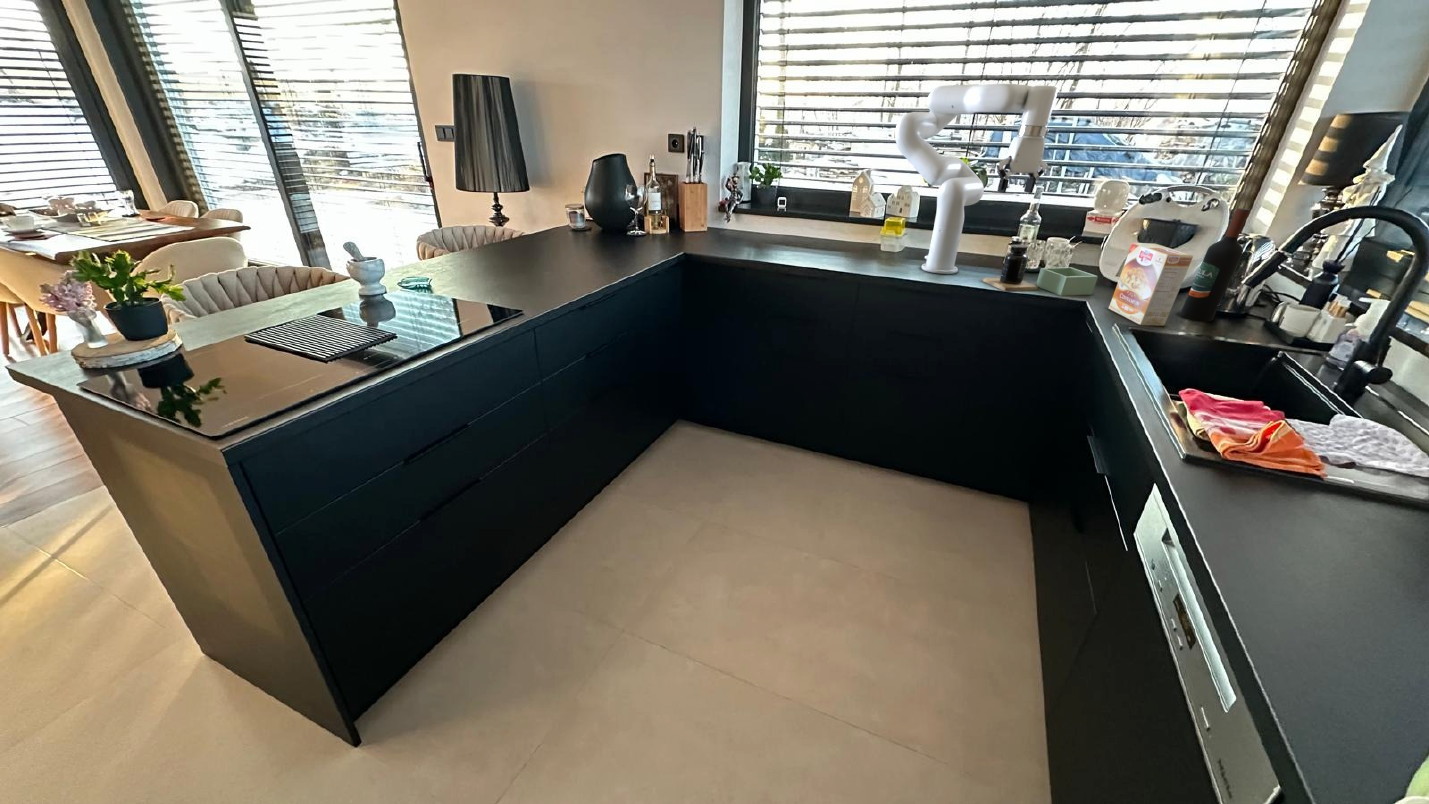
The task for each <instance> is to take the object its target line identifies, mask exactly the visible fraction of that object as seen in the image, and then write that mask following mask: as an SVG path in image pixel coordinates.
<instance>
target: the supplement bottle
mask: <svg viewBox="0 0 1429 804" xmlns="http://www.w3.org/2000/svg"><path fill="white" fill-rule="evenodd" d="M1028 248H1029V247H1028V246H1027V245H1025V244H1011V246H1010V249H1009V251H1010V252H1008V253H1006V255H1005V257H1004V261H1003V265H1002V269H1001V273H1000V281H1001V282H1003V283H1007V284H1021V283H1022V281H1024V277H1025V273H1026V269H1027V265H1028V261H1029V256H1028V255H1027V254H1026V253H1027V252H1028Z"/></svg>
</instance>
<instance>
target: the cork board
mask: <svg viewBox="0 0 1429 804" xmlns="http://www.w3.org/2000/svg"><path fill="white" fill-rule="evenodd" d="M1000 277H1001V276H1000ZM1000 277H983V279H982V282H983V283H985V284H988V285H990V286H993V287H994V288H997V289H998V290H1001V291H1003V292H1023V291H1037V290H1038V288H1039V287H1038V286H1036V284H1033V283H1030V282H1028V281H1025V280H1023V281H1022V283H1021V284H1007V283H1003V282H1001V281H1000Z"/></svg>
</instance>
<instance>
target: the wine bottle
mask: <svg viewBox="0 0 1429 804" xmlns="http://www.w3.org/2000/svg"><path fill="white" fill-rule="evenodd" d="M1250 212H1251V209H1250V208H1242V207H1241V208H1238V207H1237V208H1236V210H1235V212H1234V213H1233V217H1232V219H1231V221H1230V224H1229V226H1228V228H1227V230H1226V233H1225V235H1224V237H1223V238H1222V239H1221V240H1218V241H1215V242H1214V243H1212V244H1211V245H1209V247H1208V248H1207V250H1206V252H1205V254H1204V257H1203V259H1202V261H1201V264H1200V266H1199V269H1198V271H1197V273H1196V275H1195V278H1194V280H1193V283H1192V285H1191V288H1190V290H1189V292H1188V294H1187V297H1186V299H1185V301H1184V304H1183V306H1182V309H1181V311H1180V313H1179V316H1180V317H1182V318H1184V319H1187V320H1192V321H1196V322H1205V323H1206V322H1212V321H1213V320H1214V318H1215V315H1216V313H1217V311H1218V309H1219V307H1220V304H1221V303H1222V299H1223V298H1224V296H1225V294H1226V291H1227V289H1228V287H1229V285H1230V283H1231V281H1232V278H1233V276H1234V274H1235V272H1236V269H1237V267H1238V265H1239V263H1240V260H1241V259H1242V256H1243V255H1244V254H1243V253H1244V249H1243V246H1242V245H1241V244H1240V243H1239V242H1238V240H1239V236H1240V235H1241V232H1242V229H1243V227H1244V225H1245V222H1246V220H1247V218H1248V216H1249V215H1250Z"/></svg>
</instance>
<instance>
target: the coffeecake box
mask: <svg viewBox="0 0 1429 804" xmlns="http://www.w3.org/2000/svg"><path fill="white" fill-rule="evenodd" d="M1193 258H1194V255H1192V254H1189V253H1187V252H1182V251H1180V250H1177V249H1174V248H1170V247H1167V246H1164V245H1161V244H1158V243H1150V242H1149V243H1145V242H1132V243H1131V246H1130V249H1129V250H1128V253H1127V257H1126V260H1125V262H1124V265H1123V267H1122V270H1121V273H1120V275H1119V278H1118V281H1117V284H1116V286H1115V290H1114V293H1113V295H1112V298H1111V301H1110V304H1109V306H1108V309H1109V310H1110V311H1112V312H1114V313H1116V314H1118V315H1120V316H1122V317H1124V318H1126V319H1127V320H1130V321H1131V322H1133V323H1135V324H1137V325H1139V326H1157V327H1159V326H1161V327H1165V325H1166V322H1167V320H1168V318H1169V315H1170V313H1171V311H1172V308H1173V307H1174V304H1175V301H1176V298H1177V296H1178V294H1179V292H1180V289H1181V287H1182V284H1183V283H1184V280H1185V277H1186V275H1187V273H1188V270H1189V267H1190V265H1191V263H1192V260H1193Z"/></svg>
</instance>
